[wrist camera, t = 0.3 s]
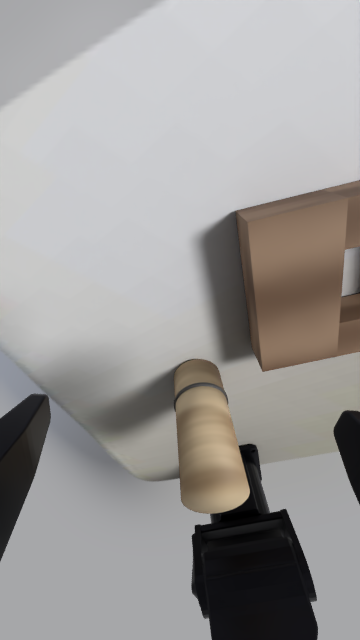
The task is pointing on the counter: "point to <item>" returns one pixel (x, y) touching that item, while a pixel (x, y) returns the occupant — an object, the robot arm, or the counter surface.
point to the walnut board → (300, 276)
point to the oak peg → (207, 441)
